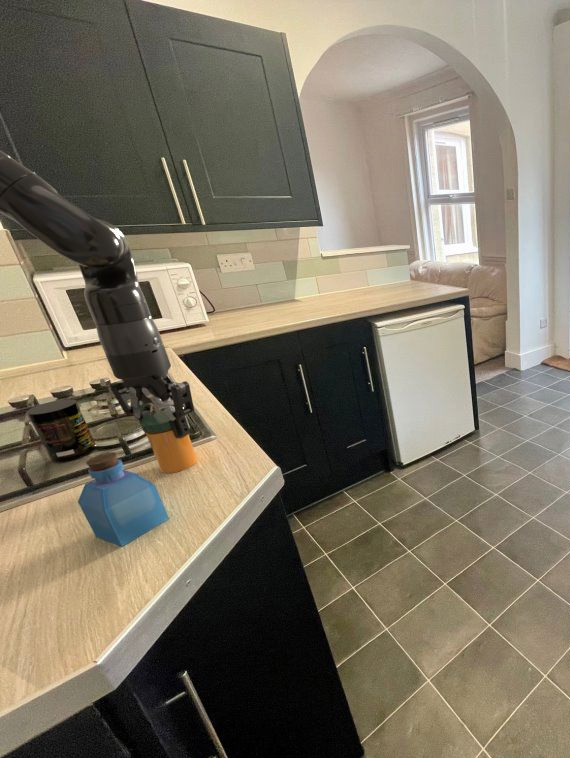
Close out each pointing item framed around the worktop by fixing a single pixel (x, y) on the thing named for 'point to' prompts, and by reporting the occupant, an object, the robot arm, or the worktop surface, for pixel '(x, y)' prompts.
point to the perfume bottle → (119, 501)
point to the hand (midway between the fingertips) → (168, 434)
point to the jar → (172, 451)
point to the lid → (156, 423)
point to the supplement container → (62, 430)
